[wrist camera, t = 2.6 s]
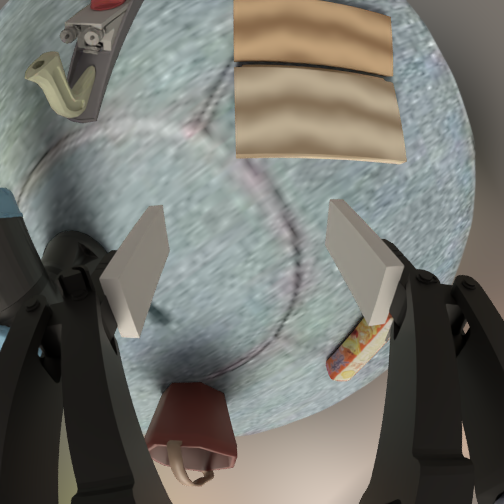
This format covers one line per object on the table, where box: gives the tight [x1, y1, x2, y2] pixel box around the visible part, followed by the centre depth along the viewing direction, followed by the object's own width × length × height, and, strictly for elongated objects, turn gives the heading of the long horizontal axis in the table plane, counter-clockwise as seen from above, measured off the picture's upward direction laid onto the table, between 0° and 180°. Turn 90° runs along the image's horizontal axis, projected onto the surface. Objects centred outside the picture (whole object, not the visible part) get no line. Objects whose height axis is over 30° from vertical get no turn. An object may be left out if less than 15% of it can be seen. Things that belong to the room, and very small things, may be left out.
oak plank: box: [234, 0, 393, 77], centre depth 27 cm, size 10×22×2 cm, turn 91°
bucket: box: [144, 382, 237, 486], centre depth 55 cm, size 24×22×25 cm
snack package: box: [326, 312, 393, 381], centre depth 54 cm, size 21×7×7 cm, turn 157°
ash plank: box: [234, 65, 407, 164], centre depth 31 cm, size 13×22×2 cm, turn 91°
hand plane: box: [25, 0, 144, 123], centre depth 19 cm, size 7×31×15 cm, turn 158°
